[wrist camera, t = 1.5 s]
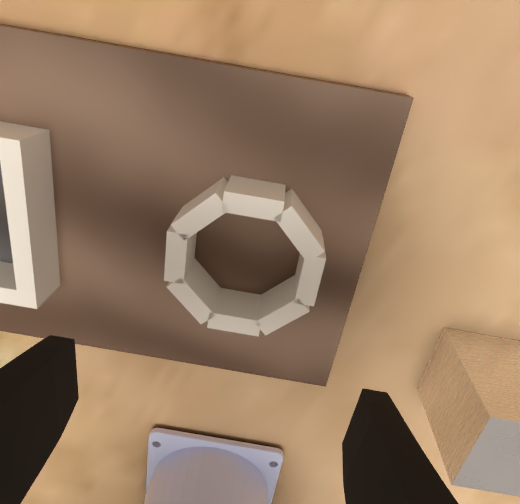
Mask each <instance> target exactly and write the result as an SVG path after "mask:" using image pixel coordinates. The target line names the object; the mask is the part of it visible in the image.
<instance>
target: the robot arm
mask: <svg viewBox="0 0 520 504" xmlns="http://www.w3.org/2000/svg"><path fill="white" fill-rule="evenodd" d="M77 401H78V383H77V369H76V354H75V340H74V339H71V338H65V337H59V336H53V335H49V336H48V337H46V338H45V339H43V340H42V341H40V342H39V343H37V344H36V345H34V346H33V347H31V348H30V349H28V350H27V351H25V352H24V353H22V354H21V355H19V356H18V357H16V358H15V359H13V360H12V361H10V362H9V363H8V364H6V365H5V366H3V367H2V368H0V504H20V503H21V502H22V500H23V499H24V497H25V495H26V494H27V492H28V490H29V489H30V487H31V486H32V484H33V482H34V481H35V479H36V477H37V476H38V474H39V473H40V471H41V469H42V468H43V466H44V464H45V463H46V461H47V459H48V458H49V456H50V454H51V453H52V451H53V449H54V448H55V446H56V444H57V443H58V441H59V439H60V438H61V435H62V433H63V431H64V429H65V427H66V425H67V423H68V421H69V419H70V416H71V414H72V412H73V410H74V407H75V405H76V403H77ZM342 451H343V483H344V493H345V501H346V504H458V502H457V501H456V500H455V498H454V497H453V495H452V494H451V492H450V491H449V489H448V488H447V487H446V485H445V484H444V482H443V481H442V479H441V478H440V476H439V475H438V473H437V472H436V470H435V469H434V467H433V466H432V464H431V462H430V461H429V459H428V458H427V456H426V455H425V453H424V452H423V450H422V449H421V447H420V445H419V444H418V442H417V441H416V439H415V437H414V436H413V434H412V432H411V431H410V429H409V428H408V426H407V424H406V423H405V421H404V419H403V418H402V416H401V414H400V413H399V411H398V409H397V408H396V406H395V404H394V403H393V401H392V399H391V398H390V396H389V395H388V393H386V392H380V391H374V390H368V389H362V392H361V394H360V397H359V400H358V403H357V405H356V408H355V411H354V413H353V416H352V419H351V421H350V424H349V427H348V430H347V432H346V435H345V438H344V440H343V443H342ZM282 463H283V451H282V450H280V449H279V448H275V447H269V446H263V445H257V444H251V443H245V442H239V441H234V440H228V439H222V438H216V437H210V436H204V435H198V434H193V433H187V432H181V431H175V430H169V429H163V428H153V429H152V430H151V431H150V434H149V438H148V458H147V478H146V497H145V500H144V503H143V504H271V503H272V499H273V496H274V492H275V488H276V485H277V481H278V477H279V474H280V470H281V466H282Z"/></svg>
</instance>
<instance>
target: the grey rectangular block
mask: <svg viewBox="0 0 520 504" xmlns="http://www.w3.org/2000/svg"><path fill="white" fill-rule="evenodd" d="M417 389H418V391H419V394H420V397H421V400H422V403H423V406H424V408H425V411H426V414H427V417H428V420H429V423H430V425H431V428H432V431H433V434H434V437H435V440H436V442H437V445H438V448H439V451H440V454H441V457H442V459H443V462H444V465H445V468H446V471H447V473H448V476H449V479H450V482H451V485H455V486H461V487H467V488H473V489H478V490H484V491H490V492H496V493H502V494H508V495H514V496H519V497H520V341H518V340H513V339H507V338H501V337H495V336H489V335H484V334H478V333H472V332H466V331H460V330H455V329H449V328H443V330H442V333H441V335H440V337H439V340H438V342H437V344H436V346H435V349H434V351H433V353H432V355H431V358H430V360H429V362H428V365H427V367H426V369H425V371H424V374H423V376H422V378H421V380H420V383H419V385H418V387H417Z"/></svg>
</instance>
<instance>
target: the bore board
mask: <svg viewBox="0 0 520 504" xmlns="http://www.w3.org/2000/svg"><path fill="white" fill-rule="evenodd" d="M412 101H413V98H412V97H410V96H408V95H404V94H399V93H393V92H387V91H382V90H376V89H370V88H364V87H359V86H353V85H347V84H341V83H336V82H330V81H324V80H319V79H313V78H307V77H301V76H296V75H290V74H284V73H279V72H273V71H267V70H261V69H256V68H250V67H244V66H238V65H233V64H227V63H221V62H216V61H210V60H204V59H198V58H193V57H187V56H181V55H176V54H170V53H164V52H158V51H153V50H147V49H141V48H135V47H130V46H124V45H118V44H113V43H107V42H101V41H95V40H90V39H84V38H78V37H73V36H67V35H61V34H55V33H50V32H44V31H38V30H32V29H27V28H21V27H15V26H10V25H4V24H0V331H5V332H11V333H17V334H22V335H28V336H34V337H40V338H46V337H48V336H49V335H53V336H59V337H65V338H71V339H74V340H75V344H81V345H87V346H92V347H98V348H104V349H110V350H116V351H122V352H127V353H133V354H139V355H145V356H151V357H157V358H162V359H168V360H174V361H180V362H186V363H192V364H197V365H203V366H209V367H215V368H221V369H227V370H232V371H238V372H244V373H250V374H256V375H262V376H267V377H273V378H279V379H285V380H291V381H297V382H302V383H308V384H314V385H320V386H326V383H327V380H328V377H329V374H330V370H331V367H332V364H333V360H334V357H335V354H336V351H337V347H338V344H339V341H340V337H341V334H342V331H343V328H344V324H345V321H346V318H347V314H348V311H349V308H350V305H351V301H352V298H353V295H354V292H355V288H356V285H357V282H358V278H359V275H360V272H361V269H362V265H363V262H364V259H365V255H366V252H367V249H368V246H369V242H370V239H371V236H372V232H373V229H374V226H375V223H376V219H377V216H378V213H379V210H380V206H381V203H382V200H383V196H384V193H385V190H386V187H387V183H388V180H389V177H390V173H391V170H392V167H393V164H394V160H395V157H396V154H397V151H398V147H399V144H400V141H401V137H402V134H403V131H404V128H405V124H406V121H407V118H408V114H409V111H410V108H411V105H412Z"/></svg>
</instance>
